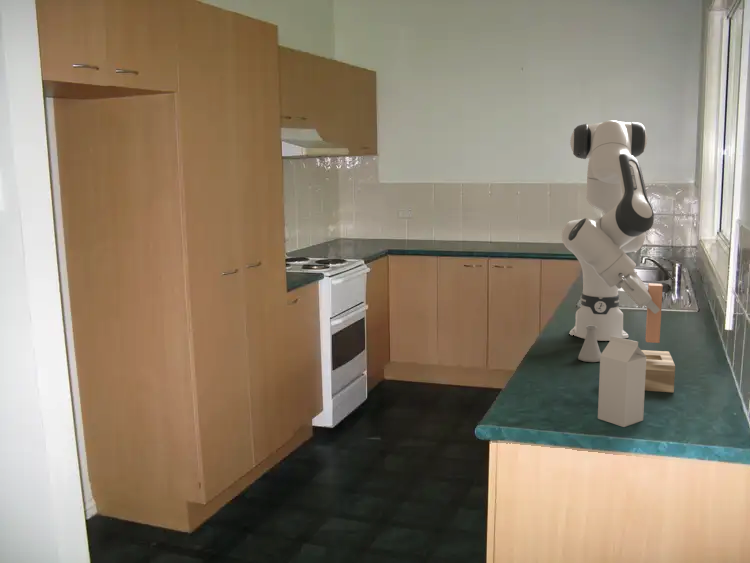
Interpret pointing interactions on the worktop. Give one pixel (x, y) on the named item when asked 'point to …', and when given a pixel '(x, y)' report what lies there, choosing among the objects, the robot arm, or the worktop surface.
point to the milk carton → (622, 382)
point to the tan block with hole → (659, 371)
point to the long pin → (654, 319)
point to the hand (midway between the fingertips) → (656, 309)
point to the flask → (590, 346)
